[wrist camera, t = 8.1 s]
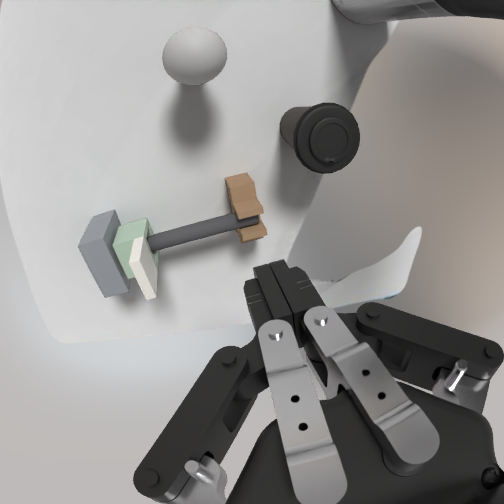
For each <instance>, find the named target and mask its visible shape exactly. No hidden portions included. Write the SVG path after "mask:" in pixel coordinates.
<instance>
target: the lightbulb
mask: <svg viewBox="0 0 504 504" xmlns="http://www.w3.org/2000/svg"><path fill="white" fill-rule="evenodd" d="M162 60H163V65H164V68H165V70H166V72H167V73H168V75H169V76H170V77H171V78H173V79H174V80H176V81H177V82H180V83H182V84H186V85H199V84H203V83H206V82H209V81H210V80H212V79H214V78H215V77H216V76H217V75H218V74H219V73H220V72H221V71H222V69H223V68H224V66H225V63H226V60H227V49H226V46H225V43H224V41H223V40H222V38H221V37H220V36H219V35H218V34H217V33H215V32H214V31H212V30H210V29H208V28H204V27H189V28H186V29H183V30H181V31H179V32H177V33H176V34H174V35H173V36H172V37H171V38H170V39H169V40H168V42H167V43H166V45H165V47H164V50H163V56H162Z"/></svg>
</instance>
